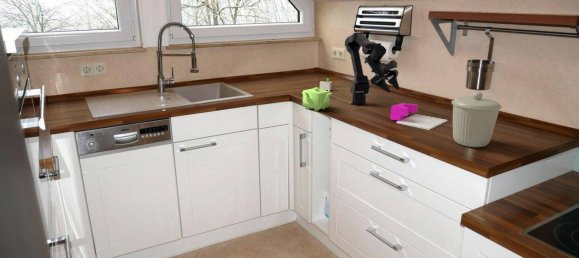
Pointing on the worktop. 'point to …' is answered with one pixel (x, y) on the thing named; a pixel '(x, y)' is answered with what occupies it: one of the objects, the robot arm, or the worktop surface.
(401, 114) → the toy block
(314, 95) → the kettle
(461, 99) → the canister
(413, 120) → the mat
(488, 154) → the worktop surface
